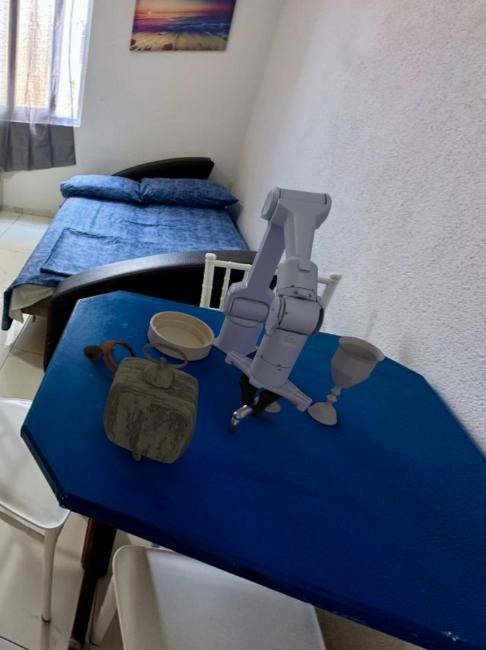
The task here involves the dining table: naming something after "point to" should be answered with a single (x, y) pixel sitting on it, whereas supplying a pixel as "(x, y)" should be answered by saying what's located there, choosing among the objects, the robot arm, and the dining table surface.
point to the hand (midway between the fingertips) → (250, 410)
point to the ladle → (268, 413)
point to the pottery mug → (106, 353)
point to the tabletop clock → (152, 407)
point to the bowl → (181, 334)
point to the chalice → (347, 373)
